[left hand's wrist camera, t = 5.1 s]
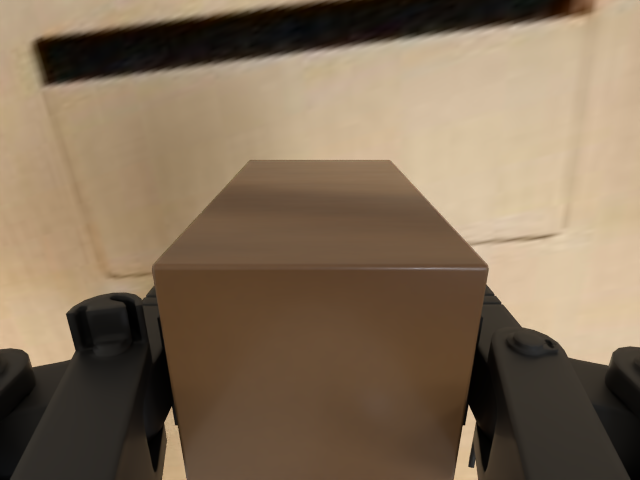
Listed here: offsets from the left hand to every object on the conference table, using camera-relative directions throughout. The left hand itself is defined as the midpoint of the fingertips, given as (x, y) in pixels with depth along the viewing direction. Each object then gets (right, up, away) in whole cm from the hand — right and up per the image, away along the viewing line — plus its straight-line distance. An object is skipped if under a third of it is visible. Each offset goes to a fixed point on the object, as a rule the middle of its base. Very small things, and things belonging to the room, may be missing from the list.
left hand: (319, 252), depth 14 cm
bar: (0, -8, +4) cm, 8 cm away
